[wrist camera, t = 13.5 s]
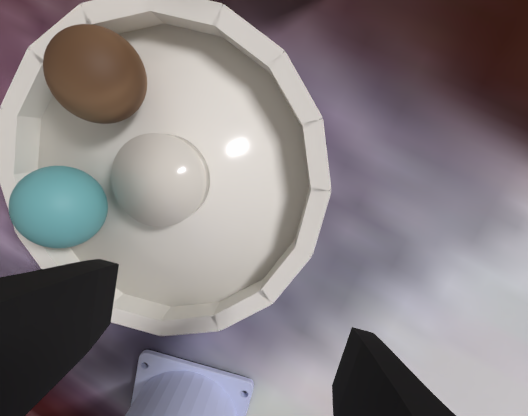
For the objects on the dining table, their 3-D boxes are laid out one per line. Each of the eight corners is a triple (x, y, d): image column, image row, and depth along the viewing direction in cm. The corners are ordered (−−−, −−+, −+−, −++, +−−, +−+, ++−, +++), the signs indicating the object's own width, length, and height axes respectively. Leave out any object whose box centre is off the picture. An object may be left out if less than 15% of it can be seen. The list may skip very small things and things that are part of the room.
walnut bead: (135, 147, 17) (111, 118, 13) (54, 116, 16) (0, 73, 12) (165, 78, 18) (153, 28, 13) (88, 45, 17) (49, -19, 13)
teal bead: (118, 242, 19) (67, 270, 15) (50, 225, 19) (-19, 247, 15) (128, 173, 18) (77, 181, 14) (57, 155, 18) (-15, 158, 14)
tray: (281, 343, 20) (279, 369, 18) (25, 272, 21) (-9, 288, 19) (364, 53, 16) (376, 37, 14) (46, -20, 17) (6, -46, 15)
